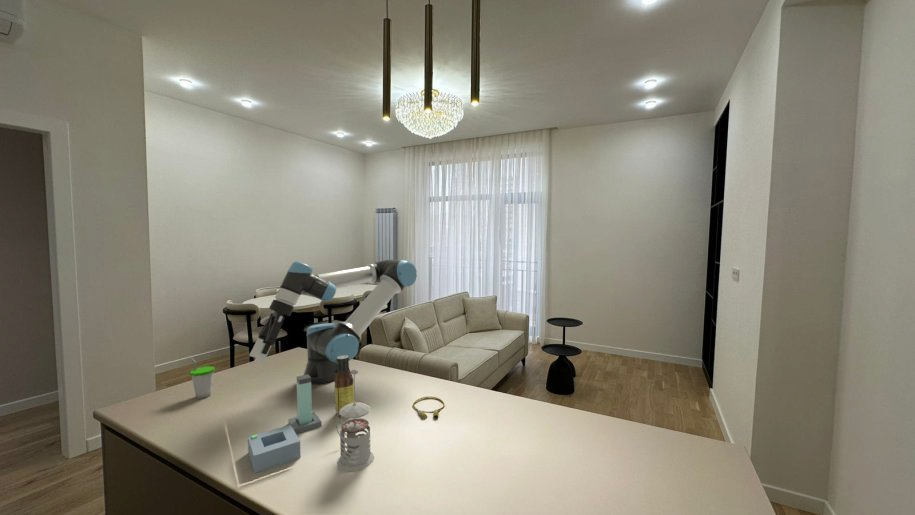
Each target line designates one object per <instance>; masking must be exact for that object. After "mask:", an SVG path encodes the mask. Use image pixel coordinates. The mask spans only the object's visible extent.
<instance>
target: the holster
mask: <svg viewBox="0 0 915 515" xmlns="http://www.w3.org/2000/svg"><path fill="white" fill-rule="evenodd" d="M287 420H288V421H287V422H288V425H291V426H292V428H293V429H294V431H295V433H296V435H297V434H301V433H304V432H308V431H310V430H314V429H317V428H321V427H322V420H321V419H320V417H319V415H317V413H316V412H315V411H312V422H309V423H306V424H302V425H298V416H293V417H290V418H288V419H287Z"/></svg>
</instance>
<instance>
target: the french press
mask: <svg viewBox="0 0 915 515" xmlns="http://www.w3.org/2000/svg"><path fill="white" fill-rule="evenodd" d="M350 372H351V374H352V375H353V380H354V403H351V404H348V405H345V406H344V407H343V408H341V409H340V411H339V414H340V415H341V417H340V426H341V429H340V431H339V429H338V421H337V420H338V418H339V417H338V416H339V414H338V415H336V417H335V428H336V432H337V434H338V437H339V438H340V443H339V444H340V446H339V447H340V456H339V457H338V459H337V461H336V465H337V468H338V469H340V470H341V471H345V472H358V471H360V470H361V471H362V470H364V469H366V468H367V467H369V466H370V465H372V463H373V462H374V459H375V456H374V453H373V452H371V427H370V425H369V424H370V423H369V421H368V420H367V419H366V418H365V419H364V418H363V417H364V416H367V415H368V414H369V413H370V410H371V407H370V405H368V404H366V403H364V402H360V401H359V402H356V374H358V373H359V370H358V369H357V368H352V369H350ZM343 418H345V419H348V420H346V421H345V422H343V421H342V420H343ZM362 432H364V433H362Z"/></svg>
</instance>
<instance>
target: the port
mask: <svg viewBox="0 0 915 515" xmlns="http://www.w3.org/2000/svg"><path fill="white" fill-rule="evenodd" d="M247 446H248V447H247V449H248V450H247V452H248V457H249V460H250V463H251V466H252V470H253V472H254V474H255V473H260V472H262V471H265V470H268V469H270V468H274V467H277V466H280V465H282V464H283V465H284V464H286V463H288V462H292V461H294V460H297V459H300V458H301V440H300V438H299V437H298V435H297V434H296V433H295V431H294V429H293V428H292V426H291V425H289V424H288V425H285V426H280V427H277V428H274V429H270V430H267V431H264V432H260V433H257V434H252V435H250V436H248V437H247Z"/></svg>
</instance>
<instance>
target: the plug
mask: <svg viewBox="0 0 915 515" xmlns="http://www.w3.org/2000/svg"><path fill="white" fill-rule="evenodd" d="M296 404H297V405H296V408H297V410H296V411H297V415H296V416H297V417H298V425H302V424H306V423H309V422H312V412H313V411H312V410H313V408H312V407H313V406H312V405H313V404H312V384H311V377H310V376H309V375H308V374H307V375H304V374H302V375H298V376H296Z"/></svg>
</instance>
